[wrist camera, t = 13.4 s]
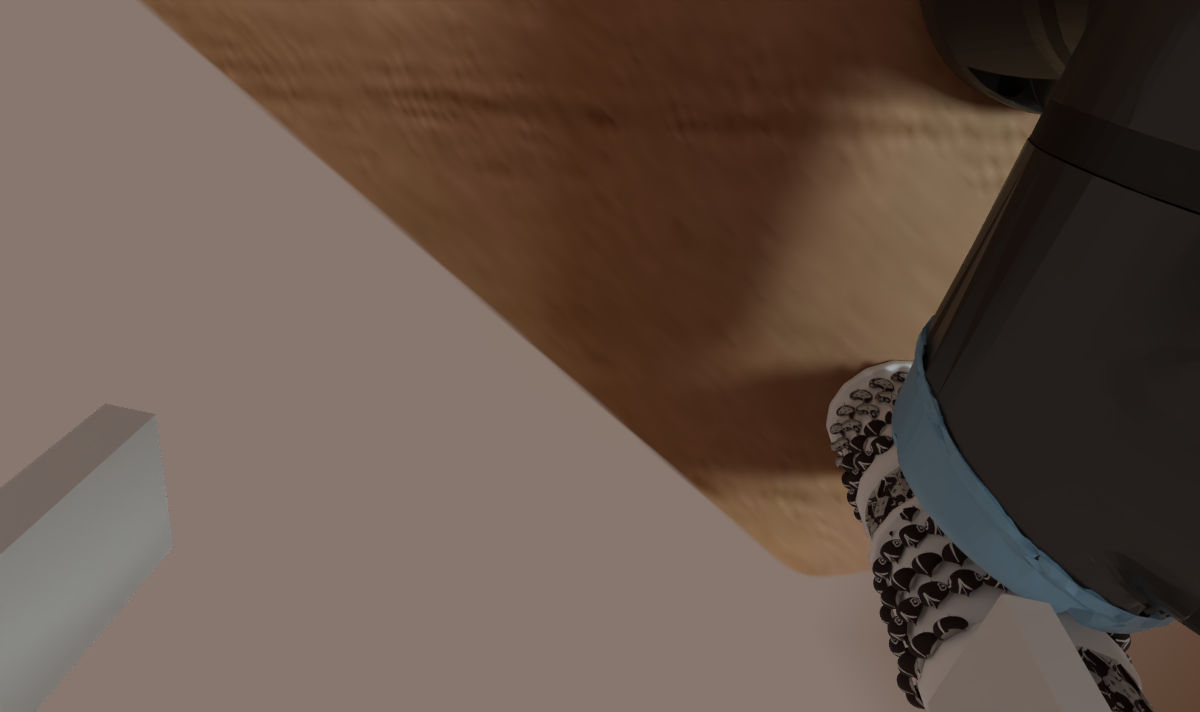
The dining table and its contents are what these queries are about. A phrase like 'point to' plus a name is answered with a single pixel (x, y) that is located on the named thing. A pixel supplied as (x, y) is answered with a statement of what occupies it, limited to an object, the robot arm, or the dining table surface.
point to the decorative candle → (934, 557)
